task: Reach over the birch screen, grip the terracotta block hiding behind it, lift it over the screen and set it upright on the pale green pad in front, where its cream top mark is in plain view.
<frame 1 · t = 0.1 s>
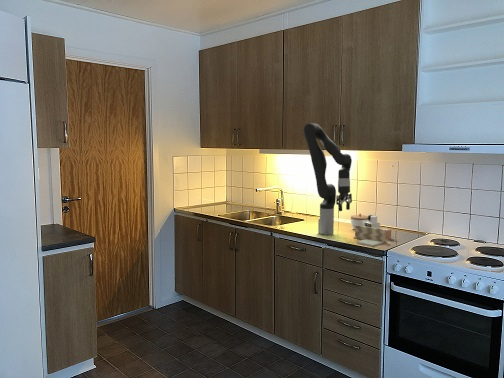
hand: (344, 210, 275), 17 cm above the worktop, tool pointing down, fingers open, 8 cm apart
birch screen: (369, 239, 268), on the worktop
lidded bowl: (359, 229, 300), on the worktop
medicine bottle: (372, 233, 289), on the worktop
pale green pad: (369, 243, 258), on the worktop
terracotta block: (385, 238, 271), on the worktop
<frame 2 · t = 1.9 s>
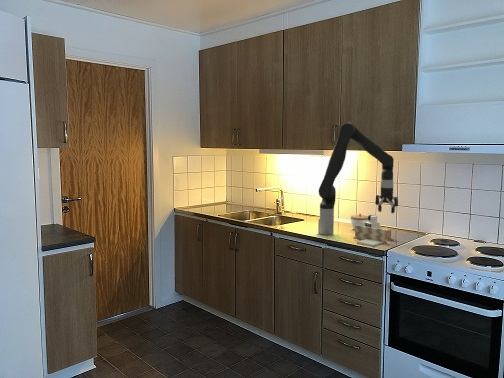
hand: (386, 212, 269), 17 cm above the worktop, tool pointing down, fingers open, 8 cm apart
nothing on the worktop moved.
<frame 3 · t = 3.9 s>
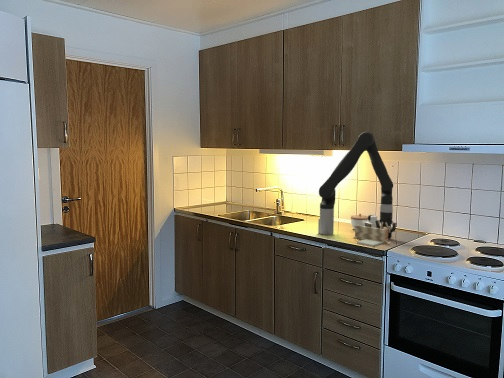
hand: (385, 237, 271), 1 cm above the worktop, tool pointing down, fingers closed on terracotta block, 5 cm apart
terracotta block: (385, 238, 271), on the worktop, touching gripper
everything else where it was.
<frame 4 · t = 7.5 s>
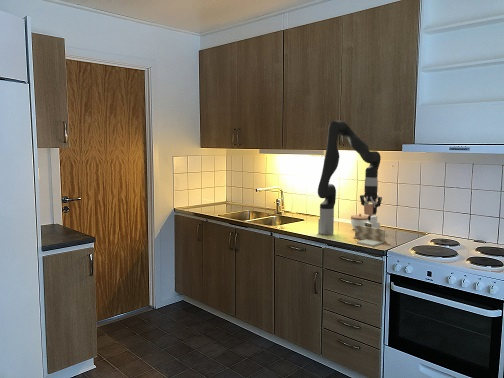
hand: (370, 213, 256), 19 cm above the worktop, tool pointing down, fingers closed on terracotta block, 5 cm apart
terracotta block: (370, 214, 256), point 18 cm above the worktop, touching gripper
everything else where it was.
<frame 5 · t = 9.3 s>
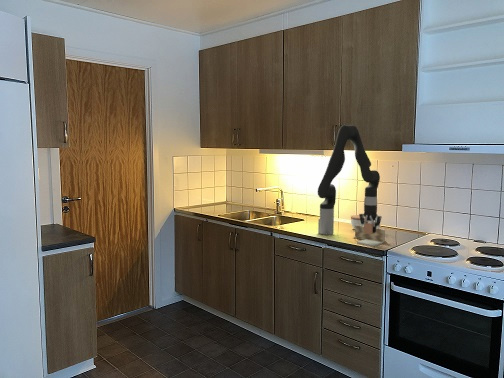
hand: (369, 231, 257), 7 cm above the worktop, tool pointing down, fingers closed on terracotta block, 5 cm apart
terracotta block: (369, 233, 257), point 6 cm above the worktop, touching gripper
everything else where it was.
when the fingers open (3 cm above the worktop, at t = 11.1 s): terracotta block drops 1 cm, resting on pale green pad.
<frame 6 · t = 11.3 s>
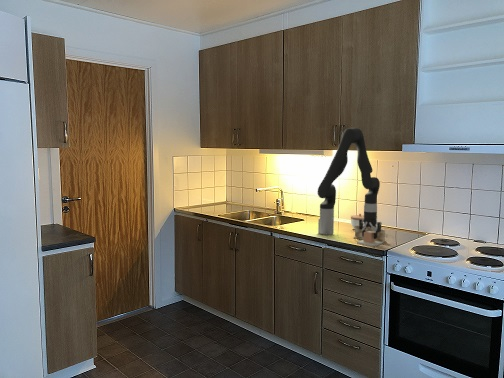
hand: (369, 237, 258), 4 cm above the worktop, tool pointing down, fingers open, 7 cm apart
terracotta block: (369, 241, 258), point 1 cm above the worktop, touching pale green pad
everything else where it was.
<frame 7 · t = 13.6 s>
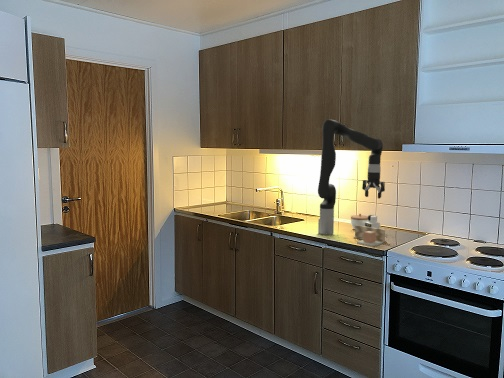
hand: (372, 197, 265), 27 cm above the worktop, tool pointing down, fingers open, 8 cm apart
nothing on the worktop moved.
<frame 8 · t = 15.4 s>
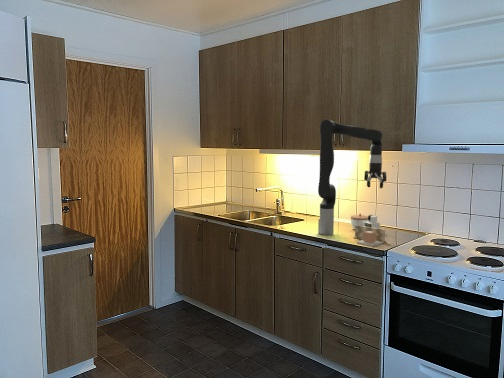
hand: (374, 187, 271), 32 cm above the worktop, tool pointing down, fingers open, 8 cm apart
nothing on the worktop moved.
at the end: terracotta block 0.1 cm off-centre on the pale green pad, point 1.0 cm above the pale green pad's base; terracotta block tilted 0°; the gripper is holding nothing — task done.
